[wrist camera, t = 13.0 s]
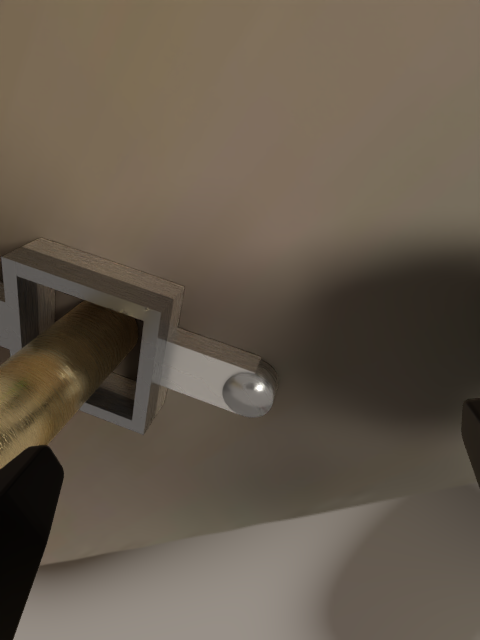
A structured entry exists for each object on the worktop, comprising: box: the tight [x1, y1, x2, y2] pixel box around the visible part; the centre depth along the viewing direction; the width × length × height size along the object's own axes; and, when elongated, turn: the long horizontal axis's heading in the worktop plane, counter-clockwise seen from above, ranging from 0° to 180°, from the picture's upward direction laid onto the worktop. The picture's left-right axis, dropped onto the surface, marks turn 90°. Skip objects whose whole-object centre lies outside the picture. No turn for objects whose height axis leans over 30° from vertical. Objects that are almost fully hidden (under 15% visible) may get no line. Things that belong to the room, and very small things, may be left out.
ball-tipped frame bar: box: [0, 238, 279, 435], centre depth 24 cm, size 21×9×3 cm, turn 77°
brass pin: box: [0, 300, 139, 469], centre depth 20 cm, size 4×4×13 cm
